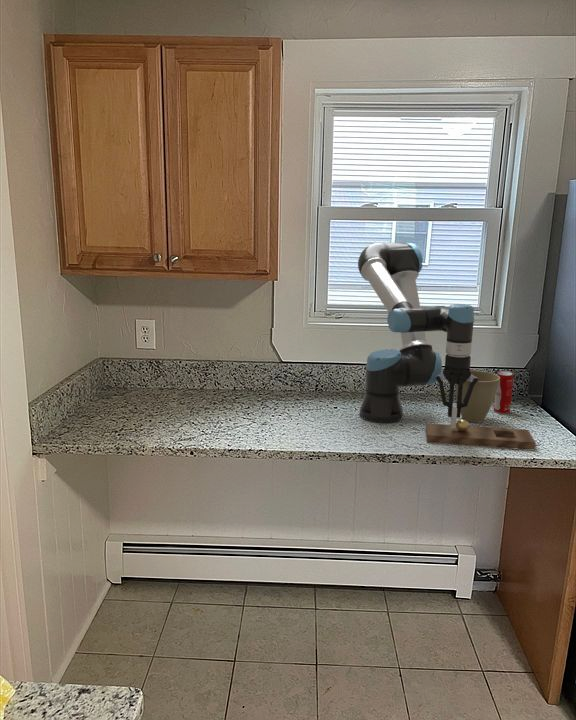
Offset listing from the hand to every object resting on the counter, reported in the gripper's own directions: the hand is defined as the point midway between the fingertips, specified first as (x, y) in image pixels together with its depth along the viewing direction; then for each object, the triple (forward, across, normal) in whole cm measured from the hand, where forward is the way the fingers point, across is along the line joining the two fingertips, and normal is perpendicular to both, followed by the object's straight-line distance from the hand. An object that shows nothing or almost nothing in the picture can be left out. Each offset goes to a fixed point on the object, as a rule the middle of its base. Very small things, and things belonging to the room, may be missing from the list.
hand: (453, 426), depth 184 cm
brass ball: (0, +3, 0) cm, 3 cm away
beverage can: (+4, +19, +31) cm, 37 cm away
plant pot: (+4, +8, +21) cm, 23 cm away
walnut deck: (+4, +8, +1) cm, 9 cm away
